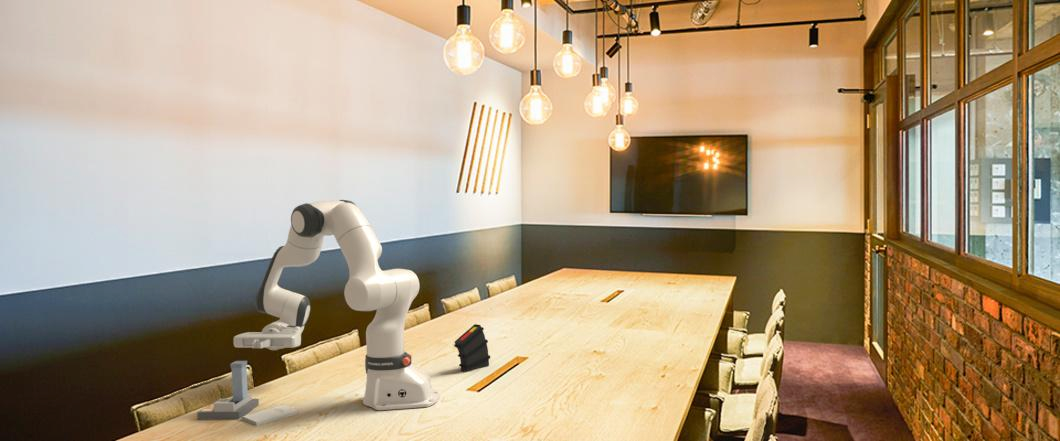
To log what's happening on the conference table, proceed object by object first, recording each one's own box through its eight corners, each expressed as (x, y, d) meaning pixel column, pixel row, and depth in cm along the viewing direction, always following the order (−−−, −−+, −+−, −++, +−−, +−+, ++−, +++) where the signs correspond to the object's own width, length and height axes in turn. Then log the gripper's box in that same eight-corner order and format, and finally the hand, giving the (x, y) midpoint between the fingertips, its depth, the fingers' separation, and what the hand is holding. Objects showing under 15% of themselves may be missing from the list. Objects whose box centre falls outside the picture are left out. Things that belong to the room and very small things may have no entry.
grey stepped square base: (258, 405, 199) (258, 390, 199) (239, 418, 187) (238, 403, 187) (219, 405, 200) (218, 391, 200) (197, 419, 188) (196, 403, 188)
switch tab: (248, 398, 199) (247, 360, 198) (243, 401, 195) (241, 363, 195) (237, 398, 199) (235, 360, 199) (232, 401, 196) (230, 363, 195)
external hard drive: (241, 421, 187) (282, 409, 196) (256, 427, 181) (298, 415, 191) (241, 416, 186) (282, 404, 196) (256, 421, 181) (297, 409, 191)
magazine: (496, 359, 240) (482, 324, 235) (471, 382, 231) (456, 347, 226) (489, 357, 242) (474, 323, 237) (464, 380, 234) (449, 345, 229)
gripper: (244, 326, 223) (223, 335, 209) (304, 326, 222) (287, 335, 208) (245, 345, 223) (224, 355, 210) (305, 345, 222) (288, 355, 209)
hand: (256, 345), depth 209 cm, fingers closed
